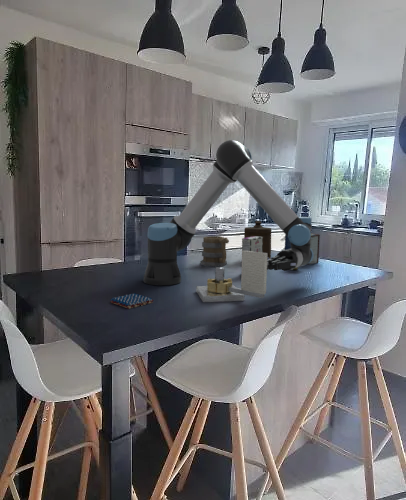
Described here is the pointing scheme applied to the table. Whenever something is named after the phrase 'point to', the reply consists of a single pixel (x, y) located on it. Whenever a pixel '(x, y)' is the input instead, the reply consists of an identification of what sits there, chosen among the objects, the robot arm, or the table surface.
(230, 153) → the robot arm
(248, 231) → the wooden container
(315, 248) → the protein box
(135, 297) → the woven mat
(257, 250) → the candy bar box
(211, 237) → the tankard
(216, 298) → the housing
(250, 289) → the ring nut
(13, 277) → the table surface
